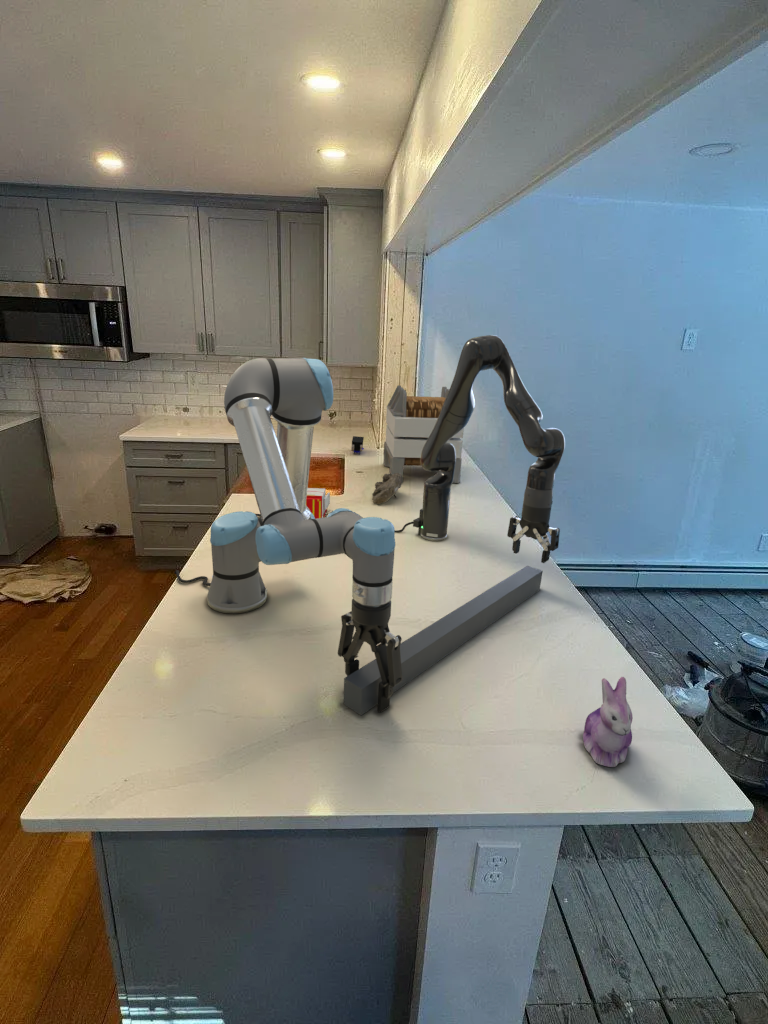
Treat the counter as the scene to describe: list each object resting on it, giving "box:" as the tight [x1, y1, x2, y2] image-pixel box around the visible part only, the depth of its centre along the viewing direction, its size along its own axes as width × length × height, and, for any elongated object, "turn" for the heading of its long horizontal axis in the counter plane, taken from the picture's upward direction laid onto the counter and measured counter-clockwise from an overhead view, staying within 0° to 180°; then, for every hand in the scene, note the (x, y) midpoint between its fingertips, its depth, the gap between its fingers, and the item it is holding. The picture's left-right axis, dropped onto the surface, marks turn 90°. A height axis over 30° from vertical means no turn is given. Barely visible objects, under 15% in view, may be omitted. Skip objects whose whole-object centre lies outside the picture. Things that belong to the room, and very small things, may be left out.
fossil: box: [371, 472, 404, 505], centre depth 236 cm, size 22×10×15 cm
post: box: [343, 565, 544, 716], centre depth 137 cm, size 75×5×6 cm, turn 139°
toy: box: [306, 487, 331, 519], centre depth 207 cm, size 12×13×30 cm
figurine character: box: [350, 435, 364, 455], centre depth 308 cm, size 7×8×15 cm
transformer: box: [383, 384, 465, 484], centre depth 268 cm, size 34×33×41 cm
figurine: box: [582, 676, 633, 768], centre depth 102 cm, size 9×10×15 cm
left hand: (367, 698), depth 115 cm, fingers open, 8 cm apart
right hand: (529, 557), depth 158 cm, fingers open, 8 cm apart
